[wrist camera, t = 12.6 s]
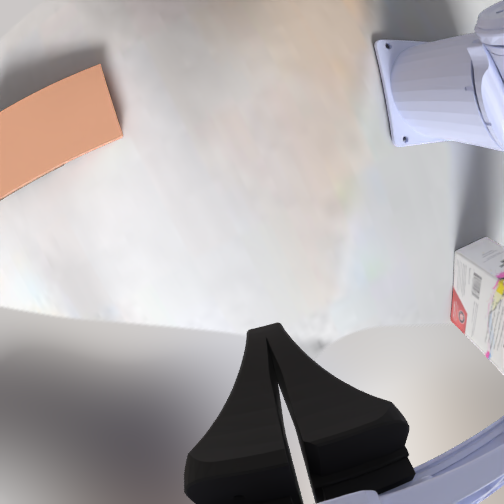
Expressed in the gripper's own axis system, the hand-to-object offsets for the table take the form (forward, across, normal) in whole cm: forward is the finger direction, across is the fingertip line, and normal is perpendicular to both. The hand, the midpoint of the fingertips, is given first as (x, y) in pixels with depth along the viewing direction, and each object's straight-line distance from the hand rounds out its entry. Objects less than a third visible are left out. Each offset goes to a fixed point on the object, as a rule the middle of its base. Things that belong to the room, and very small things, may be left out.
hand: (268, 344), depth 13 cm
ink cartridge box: (+11, -21, +9) cm, 25 cm away
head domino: (+10, +6, -12) cm, 17 cm away
